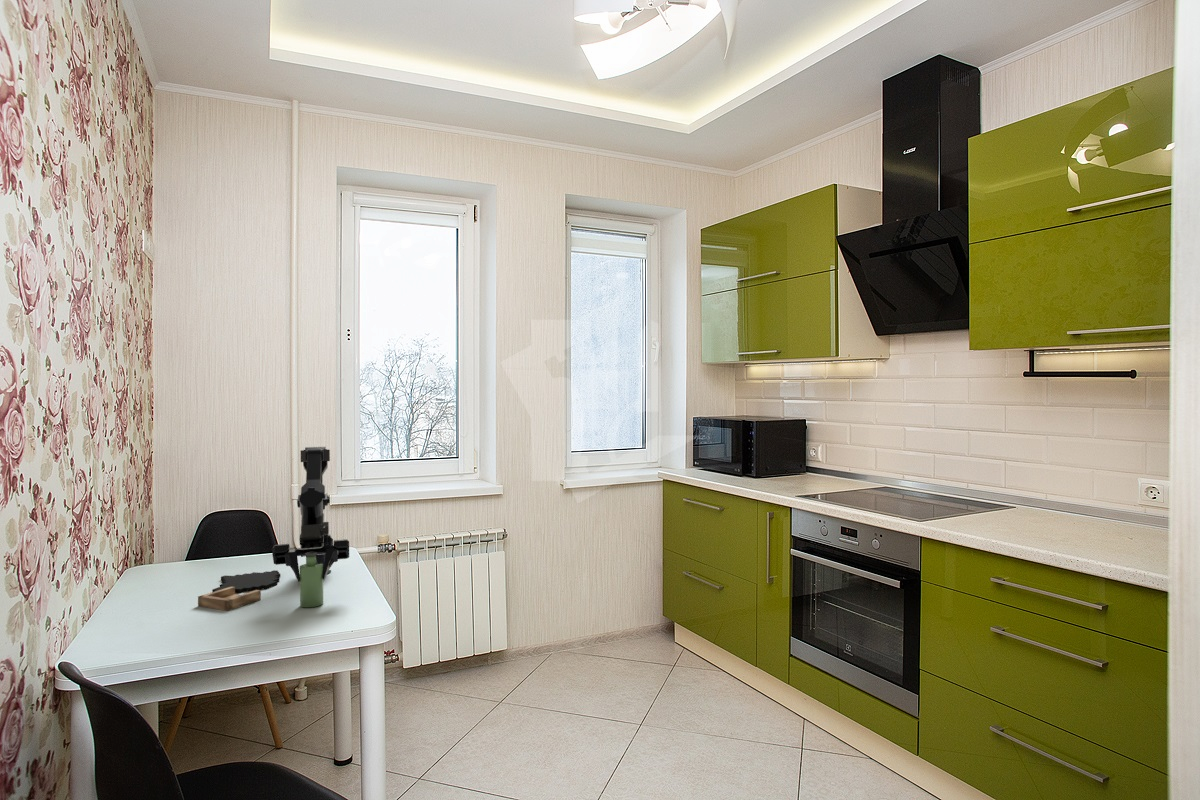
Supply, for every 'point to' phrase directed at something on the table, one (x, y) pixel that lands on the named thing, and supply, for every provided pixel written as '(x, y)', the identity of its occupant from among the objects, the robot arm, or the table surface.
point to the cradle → (228, 599)
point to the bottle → (311, 582)
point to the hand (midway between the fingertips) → (311, 579)
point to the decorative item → (250, 581)
